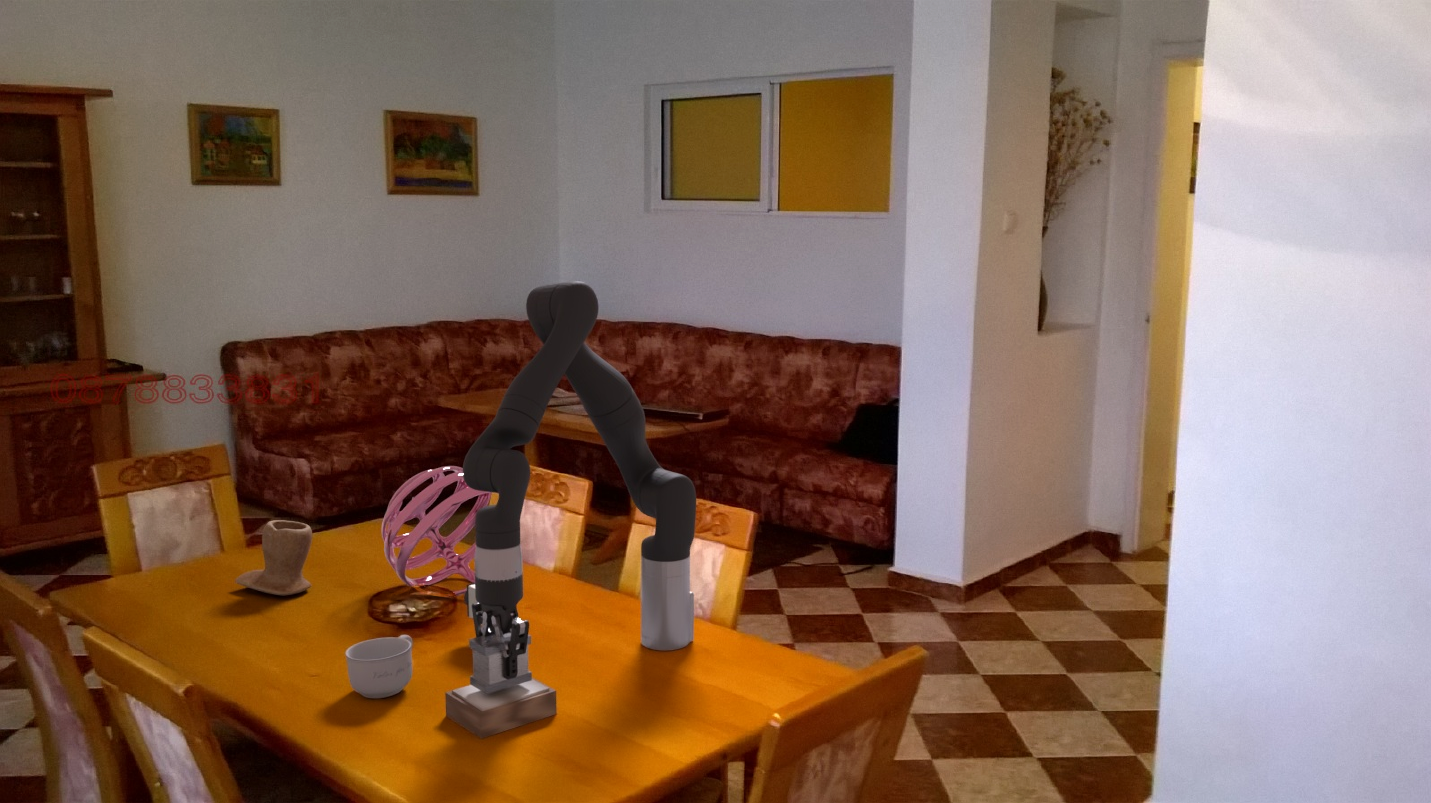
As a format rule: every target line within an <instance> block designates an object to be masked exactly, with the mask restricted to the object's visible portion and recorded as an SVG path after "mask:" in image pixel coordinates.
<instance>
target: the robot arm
mask: <svg viewBox="0 0 1431 803" xmlns="http://www.w3.org/2000/svg"><path fill="white" fill-rule="evenodd" d="M525 306H526V308H525V309H526V310H525V311H526V316H527V318H528V322H529V324H530V326H531V328H532V330H533V331H534V333H535V335H536V336H537V337H538V338H539V340H540V342H541V343H542V344H543V345H542V346H541V348H540V349H539V351H538V352H536V354H535V355H534V356H533V358H532V359H530V361H528V363H527V364H526V365H525V366H524V367H523V368H522V369H521V370H520V371H519V372H518V374H517V375H516V376H515V377H514V379H513V380H512V381H511V383H510V384H509V386H508V388H507V389H506V392H505V394H504V396H503V398H502V401H501V402H500V405H499V407H498V410H497V412H496V414H495V417H494V418H493V420H492V421H491V422H490V423H489V425H488V426H486V428H485V430H483V432H482V433H481V434H480V435H479V437H478V438H477V439H476V440H475V441H474V442H473V444H472V446H471V447H470V448H469V450H468V452H467V453H466V455H465V458H464V460H463V465H462V468H463V478H464V481H465V483H466V484H467V485H468V486H469V487H470V488H472V489H474V490H478V491H485V492H494V494H498V493H499V494H498V498H497V502H496V504H491V505H487V506H485V507H482V508H481V509H479V510H478V511H477V513H476V517H475V525H474V527H475V529H474V530H475V542H476V550H475V557H474V573H475V598H476V601H477V603H474V604H472V613H473V626H474V632H475V633H474V634H475V638H476V637H480V636H484V635H485V636H488V635H492V634H495V633H496V637H497V642H498V643H500V644H502V652H503V656H504V657H503V675H504V678H505V679H507V680H508V679H512V678H515V677H516V676H517V673H518V669H517V668H518V664H517V657H518V655H521V654H525V653H526V648H527V640H528V634H529V632H530V631H529V630H530V622H529V620H527V619H525V620H521V618H519V612H518V607H517V605H518V604H519V603H520V601H522V599H523V597H524V572H523V571H524V570H523V569H524V568H523V566H524V565H523V552H522V551H523V550H522V546H521V544H522V543H521V516H522V513H523V508H524V503H525V498H526V495H527V492H528V487H529V484H530V480H531V465H530V462H529V460H528V458H527V457H526V455H525V453H523V452H521V450H516V449H513V447H517V446H518V447H519V446H524V445H527V444H530V443H532V441H533V440H534V438H535V437H536V434H537V432H538V430H539V427H540V425H541V423H542V421H543V417H544V415H545V412H546V410H547V408H548V405H549V404H550V401H551V399H552V396H553V395H554V393H555V391H556V388H557V387H558V386H559V383H560V381H561V380H562V378H563V377H564V376H565V377H566V379H567V381H568V382H569V384H570V386H571V387H572V389H573V391H574V392H575V395H577V397H578V399H579V400H580V403H581V405H582V406H583V408H584V410H585V412H586V414H587V416H588V417H589V419H590V422H591V423H592V424H593V426H594V428H595V430H596V431H597V433H598V435H599V436H600V438H601V439H602V441H603V443H604V444H605V447H606V448H607V450H608V452H609V454H610V455H611V457H612V458H613V460H614V462H615V464H616V465H617V467H618V469H619V472H620V474H621V477H622V478H623V481H624V484H625V486H626V487H627V490H628V491H627V492H628V493H629V496H630V498H631V500H632V502H633V504H634V505H635V508H637V509H638V511H639V512H641V513H642V514H643V515H646V517H650V518H653V519H655V528H654V529H655V530H654V534H652V535H649V536H647V537H644V538H643V540H642V541H641V544H640V546H641V547H640V571H641V573H640V590H641V591H640V610H641V611H640V643H641V645H642V646H644V648H648V649H651V650H654V651H655V650H657V651H675V650H679V649H682V648H683V649H684V647H687V646H688V645H689V644H690V642H693V641H694V634H695V633H694V632H695V630H694V628H695V626H694V624H695V622H694V621H695V620H694V619H695V616H694V614H695V611H694V610H695V609H694V608H695V603H694V602H695V594H694V592H693V591H691V547H692V545H693V542H694V539H695V532H696V514H697V493H696V487H695V485H694V482H693V481H692V480H691V478H689V477H688V476H686V475H685V474H681V473H678V472H673V471H670V470H667V469H664V468H663V467H662V466H661V465H660V463H658V461H657V459H656V457H654V455H653V453H652V451H651V450H650V447H649V445H648V443H647V439H646V416H645V411H644V408H643V406H642V404H641V401H640V399H639V398H638V396H637V394H636V392H635V390H634V389H633V387H632V384H630V382H629V381H628V379H627V378H626V377H625V376H624V375H623V374H622V373H621V372H620V371H619V370H618V369H616V368H615V367H614V366H612V365H611V364H609V362H607V361H606V360H605V359H603V358H602V357H600V355H598V354H597V353H596V352H594V351H593V350H592V349H591V348H590V347H589V345H587V344H586V342H585V341H586V340H587V338H588V337H589V335H590V333H591V332H592V330H593V329H594V326H595V325H596V322H597V319H598V316H599V299H598V297H597V295H596V292H595V290H594V289H593V287H591V285H590V284H588V283H586V282H584V281H580V280H579V281H578V280H574V281H573V280H572V281H569V280H568V281H563V282H555V283H551V284H545V285H544V284H543V285H540V286H537V287H535V288H533V289H532V290H531V291H530V292H529V294H528V296H527V298H526V304H525ZM481 625H482V628H481ZM509 633H511V636H508V637H504V636H503V635H505V634H509ZM509 641H510V647H509V649H508V645H507V643H508V642H509ZM519 643H520V647H519Z"/></svg>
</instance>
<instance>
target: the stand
mask: <svg viewBox="0 0 1431 803" xmlns="http://www.w3.org/2000/svg"><path fill="white" fill-rule="evenodd" d="M444 693H445V696H444V698H445V717H447V718H449V719H450V720H452V721H453V722H455V723H456V724H458V725H459V726H461V727H462V728H463V729H465V730H467V731H469V732H470V733H471V734H473V735H474V736H476V737H478V738H479V739H484V738H488V737H491V736H493V735H497V734H499V733H502V732H505V731H509V730H512V729H514V728H515V729H516V728H518V727H521V726H524V725H528V724H530V723H534V722H537V721H539V720H542V719H546V718H548V717H552V716H554V715H558V714H557V690H555V689H554V688H552V687H550V686H548V685H546V684H545V683H543V682H541V681H539V680H538V679H535V678H534V677H532V680H531V681H528V682H524V683H521V684H518V685H515V686H511V687H508V688H505V689H501V690H498V691H495V692H492V693H488V694H486V693H484V692H482V691H481V690H479V689H477V688H476V687H474V686H472V685H470V684H469V685H465V686H462V687H458V688H455V689H453V690H449V691H446V692H444Z"/></svg>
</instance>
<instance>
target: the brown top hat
mask: <svg viewBox="0 0 1431 803" xmlns="http://www.w3.org/2000/svg"><path fill="white" fill-rule="evenodd" d="M312 540H313V530H312V527H311V526H310V525H308V524H307V523H304V522H299V521H294V520H293V521H292V520H284V519H283V520H281V519H280V520H279V519H278V520H276V519H275V520H270V521H268V522H267V523H266V524H265V525H264V527H263V530H262V534H261V542H262V543H261V548H262V549H261V550H262V554H263V559H264V569H253V570H250V571H246V572H244V573H241V574H240V575H239V576H237V578H235V583H236V584H238V585H240V586H243V587H246V588H249V589H252V590H255V591H259V592H262V593H265V594H270V595H276V596H290V595H291V596H292V595H295V594H300V593H302V592H305V591H306V590H308V589H310V588H311V587H312V583H311V582H310V581H308V580H307V579H306V578H304V576H303V568H304V565H305V563H306V560H307V557H308V554H309V552H310V550H311V545H312V543H313V542H312Z"/></svg>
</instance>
